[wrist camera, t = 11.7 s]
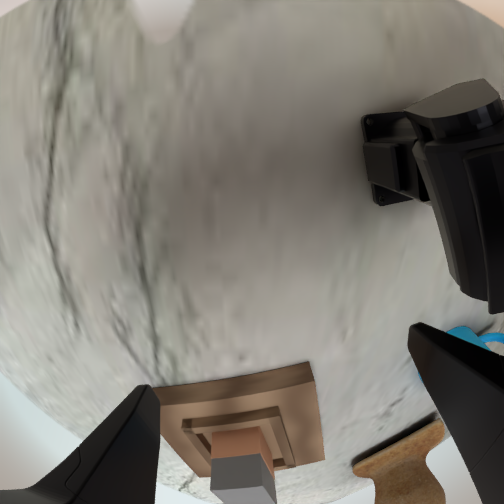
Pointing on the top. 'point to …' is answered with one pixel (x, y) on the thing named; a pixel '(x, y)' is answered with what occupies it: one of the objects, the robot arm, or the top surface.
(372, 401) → the top surface
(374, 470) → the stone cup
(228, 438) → the block
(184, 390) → the walnut cradle stand
